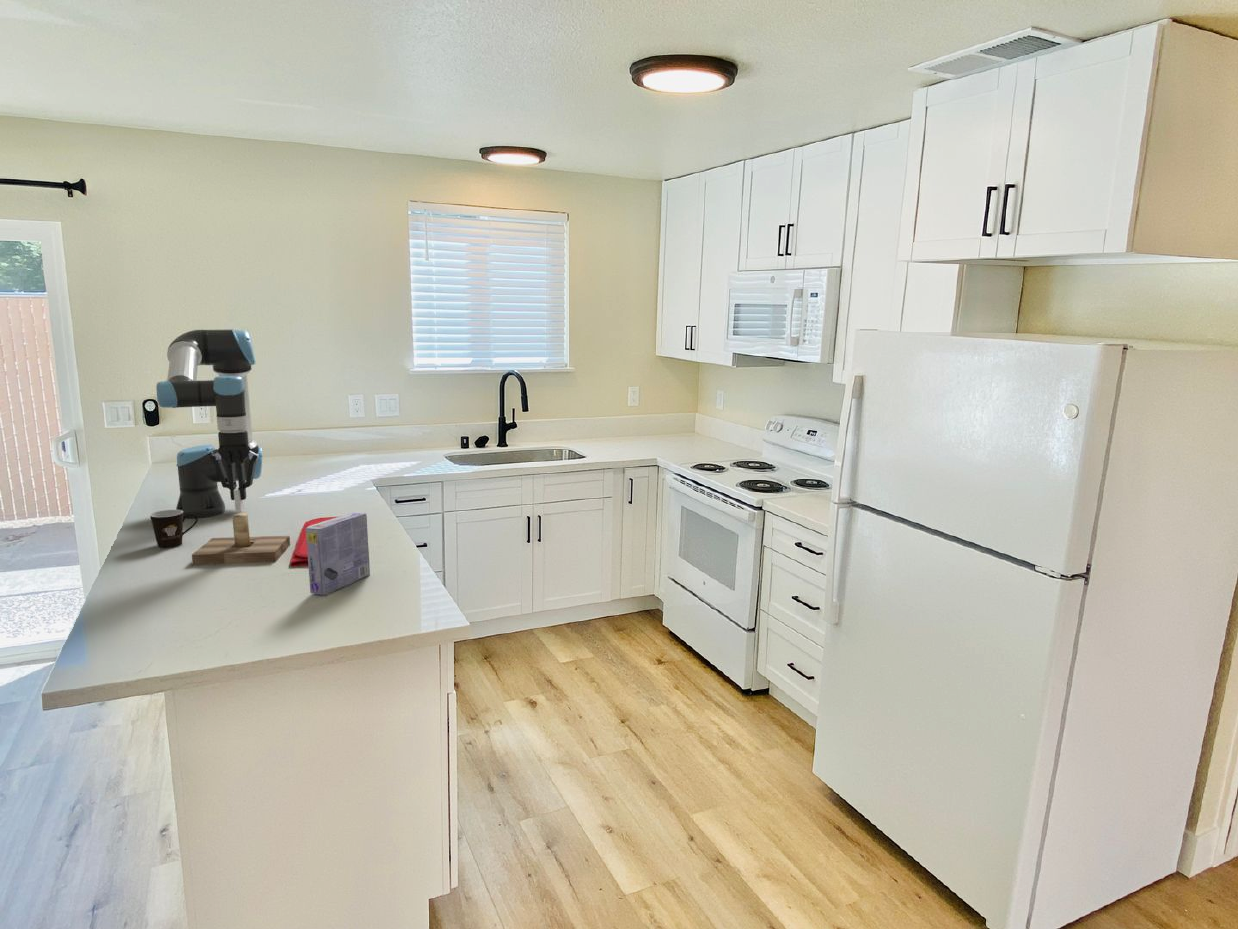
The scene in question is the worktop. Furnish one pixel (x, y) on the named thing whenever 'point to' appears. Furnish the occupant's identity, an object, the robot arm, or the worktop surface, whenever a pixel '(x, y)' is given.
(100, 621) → the worktop surface
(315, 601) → the worktop surface
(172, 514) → the coffee mug
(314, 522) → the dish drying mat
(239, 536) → the oak peg
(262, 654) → the worktop surface
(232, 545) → the walnut board
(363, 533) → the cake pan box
